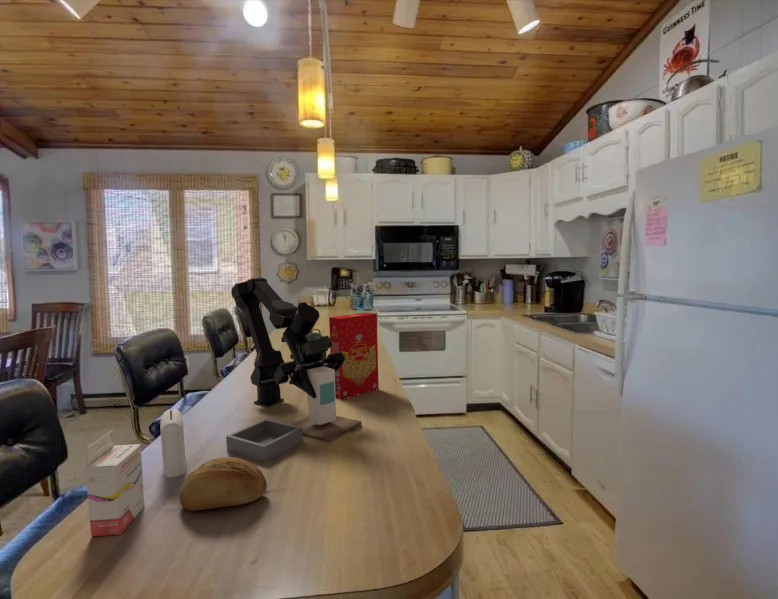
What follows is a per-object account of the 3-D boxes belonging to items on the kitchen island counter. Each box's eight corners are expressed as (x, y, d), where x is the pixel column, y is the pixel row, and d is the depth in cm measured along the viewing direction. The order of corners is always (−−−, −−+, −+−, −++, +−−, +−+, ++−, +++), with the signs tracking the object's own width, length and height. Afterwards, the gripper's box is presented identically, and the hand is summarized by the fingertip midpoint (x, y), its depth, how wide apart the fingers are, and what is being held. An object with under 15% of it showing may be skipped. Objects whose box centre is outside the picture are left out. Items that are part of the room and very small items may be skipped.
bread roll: (265, 512, 77) (263, 468, 76) (172, 525, 74) (169, 479, 73) (268, 484, 87) (266, 445, 86) (186, 495, 84) (183, 454, 83)
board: (282, 432, 112) (282, 427, 112) (316, 415, 123) (316, 411, 123) (330, 444, 104) (329, 439, 104) (361, 425, 115) (361, 421, 115)
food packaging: (341, 399, 136) (338, 318, 133) (331, 395, 140) (329, 317, 137) (378, 389, 146) (376, 313, 143) (368, 386, 150) (366, 312, 147)
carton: (308, 419, 113) (306, 369, 112) (325, 414, 117) (323, 366, 115) (320, 425, 109) (318, 373, 108) (336, 420, 113) (335, 369, 111)
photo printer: (164, 461, 97) (159, 406, 96) (185, 456, 99) (181, 403, 98) (163, 482, 88) (158, 422, 87) (187, 477, 90) (182, 418, 89)
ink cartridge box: (122, 535, 72) (114, 447, 70) (90, 537, 71) (81, 449, 70) (146, 505, 80) (140, 426, 78) (117, 507, 80) (110, 428, 78)
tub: (227, 453, 101) (226, 436, 100) (266, 434, 111) (266, 418, 110) (264, 465, 94) (264, 447, 94) (303, 443, 105) (302, 427, 104)
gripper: (277, 331, 107) (303, 385, 100) (340, 322, 120) (367, 370, 113) (263, 358, 114) (287, 410, 107) (324, 346, 126) (349, 393, 119)
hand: (324, 395), depth 111 cm, fingers closed on carton, 5 cm apart
